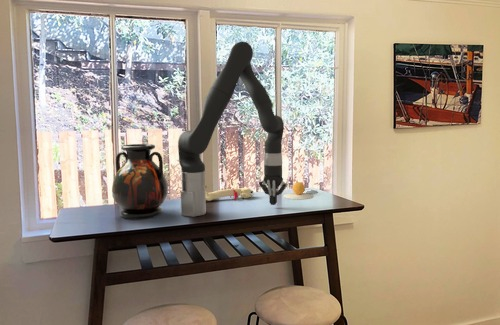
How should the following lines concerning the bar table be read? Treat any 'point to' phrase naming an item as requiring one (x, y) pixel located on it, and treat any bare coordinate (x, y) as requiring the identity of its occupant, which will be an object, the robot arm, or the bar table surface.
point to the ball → (298, 188)
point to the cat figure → (229, 193)
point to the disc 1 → (298, 196)
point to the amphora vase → (139, 182)
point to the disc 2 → (311, 192)
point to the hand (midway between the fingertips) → (273, 204)
